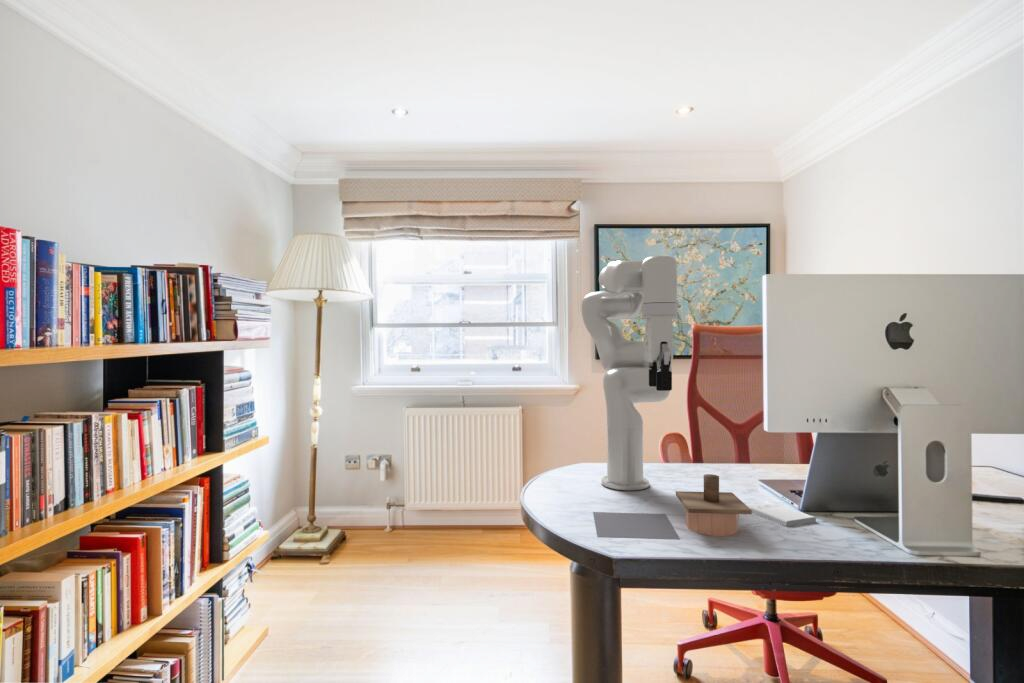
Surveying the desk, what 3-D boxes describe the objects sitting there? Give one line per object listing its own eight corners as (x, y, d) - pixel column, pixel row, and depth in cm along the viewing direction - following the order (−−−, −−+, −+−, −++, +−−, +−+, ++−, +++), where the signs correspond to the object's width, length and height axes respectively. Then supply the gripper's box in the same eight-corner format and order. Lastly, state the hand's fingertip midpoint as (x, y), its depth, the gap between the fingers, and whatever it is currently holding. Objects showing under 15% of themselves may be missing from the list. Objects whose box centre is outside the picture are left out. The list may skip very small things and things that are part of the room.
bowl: (681, 519, 115) (681, 496, 115) (729, 520, 114) (729, 497, 114) (693, 536, 105) (692, 511, 105) (745, 537, 105) (744, 512, 104)
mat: (593, 513, 120) (593, 512, 120) (665, 515, 118) (665, 513, 118) (597, 538, 105) (597, 536, 105) (680, 540, 103) (680, 539, 103)
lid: (675, 494, 117) (675, 468, 117) (732, 496, 115) (731, 469, 115) (688, 512, 105) (688, 483, 105) (751, 514, 103) (751, 484, 103)
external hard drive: (786, 528, 111) (742, 510, 123) (816, 524, 113) (770, 506, 125) (786, 521, 111) (742, 503, 123) (816, 516, 113) (770, 499, 125)
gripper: (637, 313, 128) (637, 385, 128) (648, 310, 110) (649, 392, 110) (668, 313, 127) (669, 385, 127) (685, 309, 110) (686, 392, 110)
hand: (659, 388), depth 119 cm, fingers open, 9 cm apart
